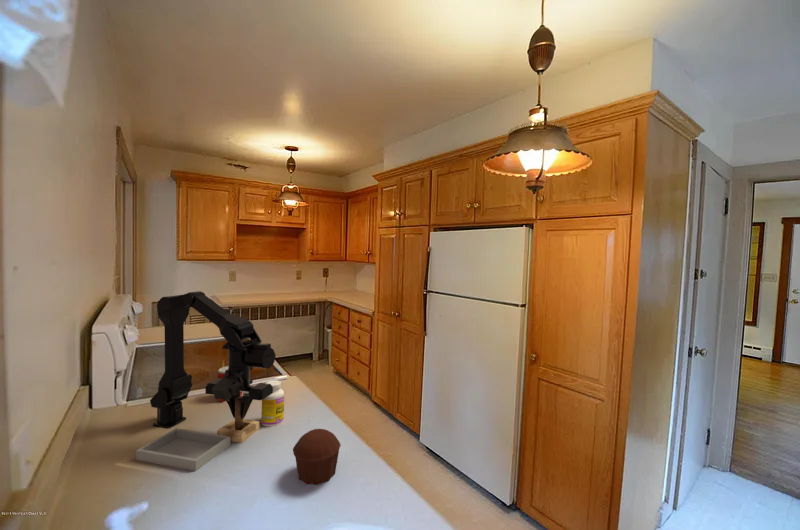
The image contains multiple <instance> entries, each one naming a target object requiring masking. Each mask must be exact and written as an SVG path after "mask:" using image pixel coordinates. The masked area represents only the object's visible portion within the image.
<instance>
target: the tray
mask: <svg viewBox="0 0 800 530" xmlns="http://www.w3.org/2000/svg"><path fill="white" fill-rule="evenodd" d="M229 447H231V441H230V437H229V436H222V435H217V433H216V434H214V433H208V432H204V431H203V432H202V431H197V430H191V429H190V430H189V429H183V428H179V427H178V428H177V427H175V428H174V429H172V430H170V431H168V432H167V433H165V434H163V435H161V436H160V437H158V438H156V439H154V440H152V441H150V442H149V443H147V444H145V445H143V446H141V447H140V448H138V449H136V451H135V452H136V453H135V456H136V458H135V459H136V461H141V462H146V463H151V464H158V465H162V466H166V467H167V466H168V467H171V468H178V469H184V470H187V471H193V472H197V471H198V470H200V469H201V468H202V467H203V466H205V465H206V464H208V463H209V462H211V461H212V460H213V459H214V458H216V457H218V455H220V454H221V453H222V452H224V451H225V450H226V449H228V448H229Z"/></svg>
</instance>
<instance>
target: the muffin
mask: <svg viewBox="0 0 800 530" xmlns="http://www.w3.org/2000/svg"><path fill="white" fill-rule="evenodd" d="M340 448H341V442H340V441H339V439H338V438H337V436H336V435H335V434H334V433H333V432H331V431H329V430H328V429H324V428H314V429H311V430H309V431H307V432H306V433H304V434H303V435H302V436H301V437H300V438H299V439H298V440H297V442H296V443H295V445H294V446H293V448H292V451H293V456H294V457H295V462H296V471H297V476H298V480H299V481H300V482H303V483H304V484H305V485H316V486H319V485H321V484H323V483H326V482H329V481H330V480H331V479H332V478H333V477H334V476H335V474H336V470H337V463H338V458H339V453H340Z"/></svg>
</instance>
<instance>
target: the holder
mask: <svg viewBox="0 0 800 530" xmlns="http://www.w3.org/2000/svg"><path fill="white" fill-rule="evenodd" d="M259 430H260V421H258V420H254V419H253V420H252V419H246V418H243V429H242V430H235V418H234V419H233V420H231V421H229V422H228V423H226V424H225V425H223V426H222V427H220V428H219V429H217V431H216V435H222V436H229V437H230V442H234V443H239V444H242V443H243V442H245V441H247V440H248V439H249V438H250V437H251V436H253V435H254V434H256V432H258V431H259Z"/></svg>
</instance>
